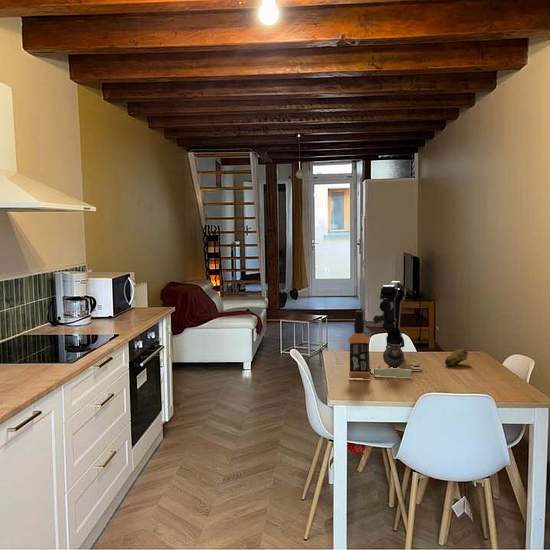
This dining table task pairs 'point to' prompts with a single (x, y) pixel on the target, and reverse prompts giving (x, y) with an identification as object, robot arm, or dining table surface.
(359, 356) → the whiskey bottle
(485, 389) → the dining table surface
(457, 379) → the dining table surface
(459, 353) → the olive brown frog figurine
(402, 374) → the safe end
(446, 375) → the dining table surface
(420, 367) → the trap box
